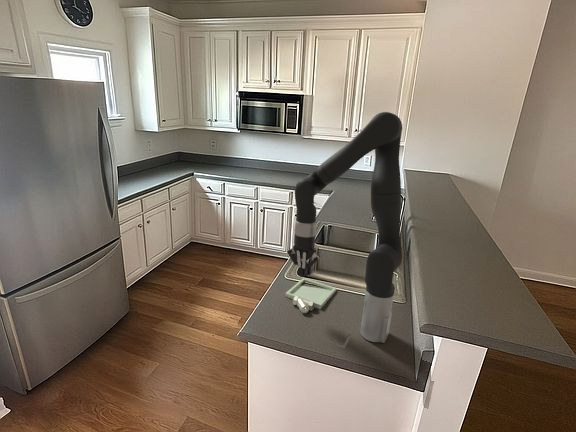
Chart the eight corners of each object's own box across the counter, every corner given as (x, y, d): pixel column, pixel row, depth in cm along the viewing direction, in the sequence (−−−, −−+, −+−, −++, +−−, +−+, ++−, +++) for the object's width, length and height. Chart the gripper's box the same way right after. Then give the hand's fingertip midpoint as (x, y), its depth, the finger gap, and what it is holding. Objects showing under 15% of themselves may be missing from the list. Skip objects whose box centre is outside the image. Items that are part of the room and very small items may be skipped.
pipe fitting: (307, 317, 127) (314, 308, 133) (308, 308, 126) (315, 300, 132) (288, 310, 131) (295, 302, 136) (289, 301, 129) (296, 293, 135)
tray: (336, 292, 145) (336, 288, 145) (320, 309, 132) (320, 305, 131) (303, 281, 153) (303, 277, 152) (285, 297, 139) (285, 293, 139)
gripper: (326, 233, 121) (322, 276, 126) (293, 226, 127) (291, 267, 132) (317, 239, 115) (314, 285, 120) (283, 231, 121) (281, 275, 126)
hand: (302, 276), depth 126 cm, fingers closed
